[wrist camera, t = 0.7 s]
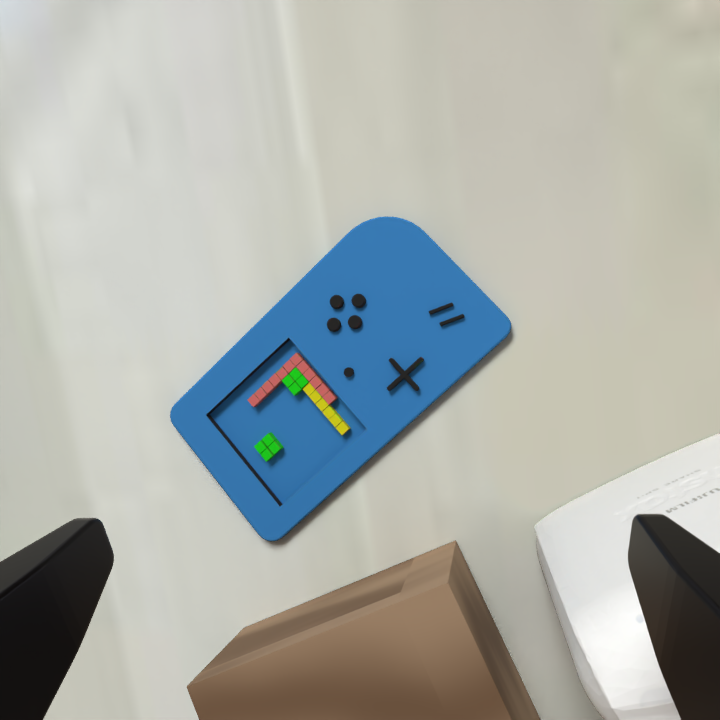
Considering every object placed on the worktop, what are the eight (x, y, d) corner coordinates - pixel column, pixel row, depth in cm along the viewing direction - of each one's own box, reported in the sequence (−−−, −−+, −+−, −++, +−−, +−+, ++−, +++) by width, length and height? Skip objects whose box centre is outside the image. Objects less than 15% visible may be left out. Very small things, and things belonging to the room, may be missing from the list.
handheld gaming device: (517, 326, 22) (266, 551, 25) (516, 328, 23) (275, 543, 26) (386, 191, 24) (160, 414, 26) (390, 199, 25) (173, 413, 27)
